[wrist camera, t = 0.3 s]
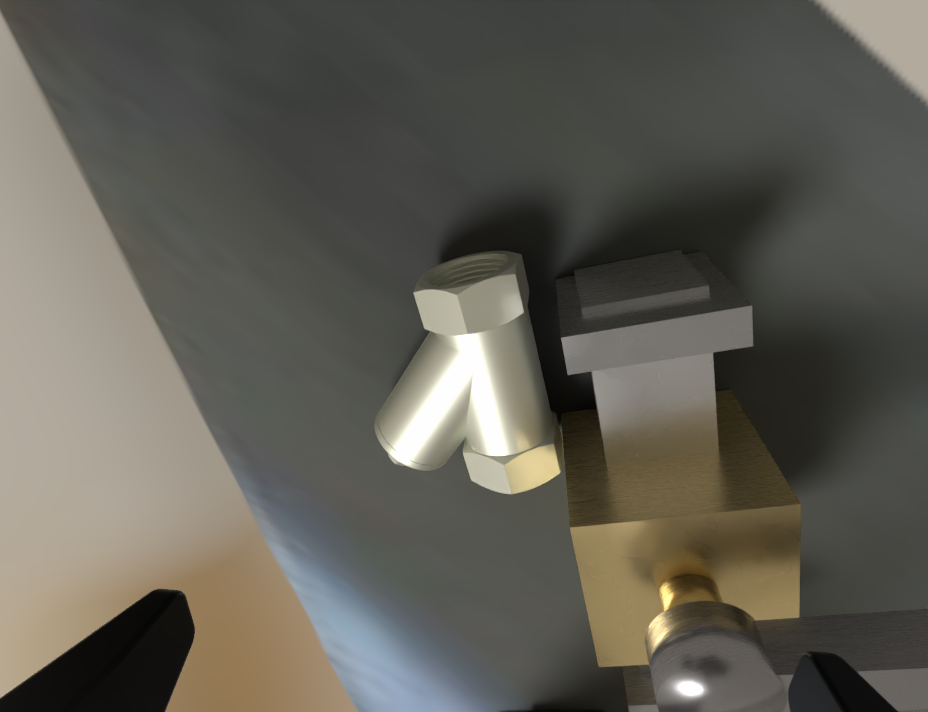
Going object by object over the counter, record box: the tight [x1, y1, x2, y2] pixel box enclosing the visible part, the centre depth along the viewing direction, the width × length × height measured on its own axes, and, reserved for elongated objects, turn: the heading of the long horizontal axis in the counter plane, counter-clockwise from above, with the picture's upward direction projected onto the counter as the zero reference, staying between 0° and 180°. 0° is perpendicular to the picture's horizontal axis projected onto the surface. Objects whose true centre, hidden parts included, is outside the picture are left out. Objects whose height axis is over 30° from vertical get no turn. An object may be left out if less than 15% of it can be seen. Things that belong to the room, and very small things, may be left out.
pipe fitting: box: [375, 251, 562, 494], centre depth 21 cm, size 8×4×7 cm
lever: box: [645, 601, 928, 712], centre depth 15 cm, size 13×3×2 cm, turn 104°
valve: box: [555, 250, 801, 712], centre depth 20 cm, size 18×6×8 cm, turn 14°
